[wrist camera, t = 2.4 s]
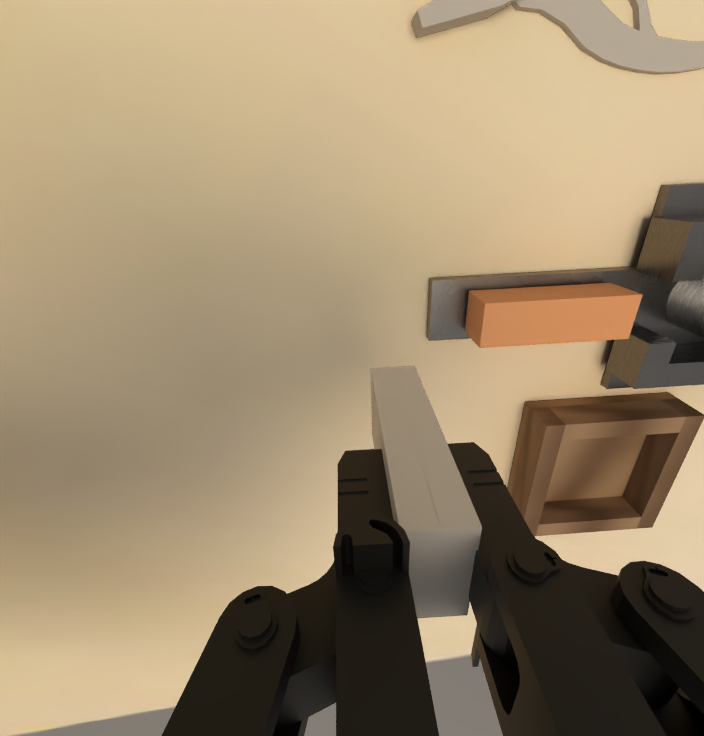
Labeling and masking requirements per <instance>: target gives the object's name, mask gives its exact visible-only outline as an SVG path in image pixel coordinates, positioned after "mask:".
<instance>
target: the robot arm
mask: <svg viewBox="0 0 704 736" xmlns="http://www.w3.org/2000/svg"><path fill="white" fill-rule="evenodd" d="M371 404H372V436H373V443H374V449H370V450H353V451H345V452H344V454H343V456H342V458H341V459H340V461H339V463H338V532H337V534H336V537H335V541H334V546H333V550H334V563H333V565H332V566H331V567H330V569H329V570H328V572H327V573H326V574H325V575H323V576H322V577H321V578H320V579H319V580H317V581H315V582H313V583H312V584H310V585H308V586H305V587H303V588H300V589H298V590H296V591H293V592H291V593H288V594H286V593H285V591H283V590H280V589H278V588H276V587H273V586H257V587H255V588H252V589H250V590H247V591H244V592H243V593H241V594H240V595H239V596H238V597H236V598H235V599H234V600H233V601H231V602H230V603H229V605H228V606H227V608H226V609H225V610H224V612H223V613H222V615H221V616H220V618H219V620H218V622H217V624H216V626H215V628H214V630H213V632H212V634H211V636H210V638H209V640H208V642H207V644H206V646H205V648H204V650H203V652H202V654H201V656H200V659H199V661H198V663H197V665H196V667H195V669H194V671H193V673H192V675H191V677H190V679H189V681H188V683H187V685H186V687H185V689H184V691H183V693H182V695H181V697H180V699H179V701H178V703H177V705H176V707H175V709H174V712H173V714H172V716H171V718H170V720H169V722H168V724H167V726H166V728H165V730H164V732H163V734H162V736H304V733H305V729H306V725H307V721H308V717H309V716H311V715H313V714H315V713H317V712H319V711H321V710H322V709H324V708H326V707H328V706H330V705H332V704H334V703H336V736H439V733H438V728H437V722H436V717H435V712H434V706H433V701H432V695H431V690H430V685H429V679H428V674H427V669H426V663H425V658H424V652H423V647H422V642H421V636H420V631H419V625H418V620H417V618H429V617H445V616H460V615H467V614H468V608H469V602H470V603H471V606H472V609H473V612H474V615H475V618H476V622H477V627H476V632H475V637H474V642H473V647H472V653H471V656H472V665H473V667H476V666H478V664H479V659H481V663H482V666H483V670H484V673H485V676H486V680H487V683H488V686H489V690H490V693H491V696H492V699H493V703H494V706H495V710H496V713H497V717H498V720H499V723H500V727H501V730H502V734H503V736H704V592H703V591H702V590H701V589H700V588H699V587H698V586H696V585H695V584H694V583H692V582H691V581H689V580H688V579H687V578H685V577H684V576H682V575H681V574H680V573H678V572H676V571H673V570H671V569H669V568H667V567H665V566H663V565H660V564H656V563H651V562H646V561H638V562H630V563H629V564H627V565H626V566H625V567H623V568H622V569H621V571H620V573H619V576H617V575H613V574H609V573H604V572H600V571H596V570H591V569H587V568H583V567H579V566H576V565H573V564H570V563H567V562H565V561H563V560H562V559H561V558H560V557H559V556H558V554H557V553H556V552H555V551H554V550H553V549H551V548H550V547H549V546H547V545H546V544H544V543H543V542H542V541H539V540H537V539H536V538H535V537H534V535H533V534H532V533H531V531H530V529H529V527H528V525H527V523H526V522H525V520H524V518H523V516H522V514H521V513H520V511H519V509H518V507H517V505H516V504H515V502H514V500H513V498H512V496H511V495H510V493H509V491H508V489H507V487H506V485H504V484H503V480H502V478H501V476H500V475H499V473H498V472H497V469H496V467H495V466H494V464H493V462H492V460H491V458H490V456H489V455H488V454H487V453H486V452H485V451H484V450H482V449H481V448H480V447H479V446H478V445H476V444H475V443H474V442H471V443H454V444H447V442H446V440H445V437H444V435H443V432H442V430H441V428H440V425H439V423H438V420H437V418H436V416H435V413H434V411H433V408H432V406H431V404H430V401H429V399H428V397H427V394H426V392H425V389H424V387H423V385H422V382H421V380H420V377H419V375H418V373H417V370H416V368H415V366H401V367H382V368H371Z"/></svg>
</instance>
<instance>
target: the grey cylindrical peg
mask: <svg viewBox="0 0 704 736" xmlns="http://www.w3.org/2000/svg"><path fill="white" fill-rule="evenodd" d="M666 312H667V316H668V318H669V320H670V321H671V323H673V324H674V325H675V326H677V327H680V328H682V329H684V330H687V331H689V332H692V333H694V334H696V335H699V336H701V337H703V338H704V274H703V277H702V280H699V281H681V282H678V283H677V284H676V285H675V286H674V288H673V289H672V291H671V293H670V295H669V298H668V301H667V306H666Z"/></svg>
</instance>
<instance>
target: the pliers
mask: <svg viewBox="0 0 704 736" xmlns="http://www.w3.org/2000/svg"><path fill="white" fill-rule="evenodd" d="M629 2H630V4H631V6H632V9H633V20H634V28H632V27H630V26H628V25H626V24H624V23H623V22H622V21H621V20H620V19H619V18H618V17H616V16H615V15H614V14H613V13H612V12H611V11H610V10H609V9H608V8H607V7H606V5H605V4H604V3H603V2H602V1H601V0H434V1H432V2H430V3H428V4H427V5H425V6H423V7H422V8H420V9H418V10H417V12H416V14H415V16H414V17H413V19H412V21H411V22H412V26H413V29H414V33H415V36H416V38H419V37H422V36H426V35H429V34H433V33H437V32H440V31H444V30H447V29H451V28H454V27H458V26H461V25H465V24H468V23H472V22H475V21H479V20H482V19H486V18H488V17H489V16H491V15H492V14H494V13H495V12H497V11H499V10H500V9H502V8H504V7H506V6H508V5H509V4H512V5H513V7H514V8H515V10H519V11H527V12H535V13H539V14H541V15H543V16H544V17H546V18H547V19H549V20H550V21H552V22H554V23H555V24H557V25H558V26H560V27H561V28H562V29H563V30H564V31H565V33H566V34H567V35H568V36H569V37H570V38H571V40H572V41H573V42H574V43H575V44H576V45H577V47H578V48H579V49H580V50H582V51H583V52H585V53H586V54H588V55H590V56H591V57H593V58H594V59H596V60H597V61H600V62H602V63H605V64H608V65H610V66H613V67H615V68H619V69H624V70H628V71H633V72H639V73H649V74H668V73H680V72H686V71H692V70H698V69H701V68H704V41H685V40H677V39H671V38H666V37H660V36H658V35H657V33H656V31H655V29H654V28H653V26H652V23H651V18H650V13H649V8H648V3H647V0H629Z"/></svg>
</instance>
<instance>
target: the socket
mask: <svg viewBox="0 0 704 736" xmlns="http://www.w3.org/2000/svg"><path fill="white" fill-rule="evenodd" d="M703 274H704V183H695V184H674V185H662V186H661V189H660V192H659V195H658V199H657V202H656V205H655V209H654V212H653V215H652V218H651V222H650V225H649V228H648V232H647V235H646V238H645V241H644V245H643V248H642V251H641V254H640V258H639V261H638V264H637V267H619V268H601V269H583V270H565V271H547V272H529V273H511V274H493V275H475V276H456V277H438V278H430V285H429V304H428V322H427V338H428V340H429V341H433V340H450V339H466V338H470V336H469V335H468V334H467V333H466V332H465V325H466V315H467V306H468V296H469V291H472V290H490V289H508V288H525V287H543V286H561V285H579V284H596V283H613V284H615V285H618V286H621V287H624V288H626V289H629V290H632V291H634V292H637V293H640V294H643V295H642V299H641V302H640V305H639V308H638V311H637V314H636V317H635V320H634V323H633V326H632V329H631V333H630V336H629V339H617V340H614V343H613V346H612V350H611V353H610V356H609V359H608V363H607V366H606V369H605V373H604V376H603V379H602V382H601V385H602V386H604V387H605V388H606V389H612V388H628V387H632V388H634V389H639V388H654V387H670V386H685V385H701V384H704V338H703V337H701V336H699V335H696V334H694V333H692V332H689V331H687V330H684V329H682V328H680V327H677V326H675V325H674V324H673V323H671V321H670V320H669V318H668V316H667V312H666V306H667V301H668V298H669V295H670V293H671V291H672V289H673V288H674V286H675V285H676V284H677V283H678V282H681V281H699V280H702V277H703Z"/></svg>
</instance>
